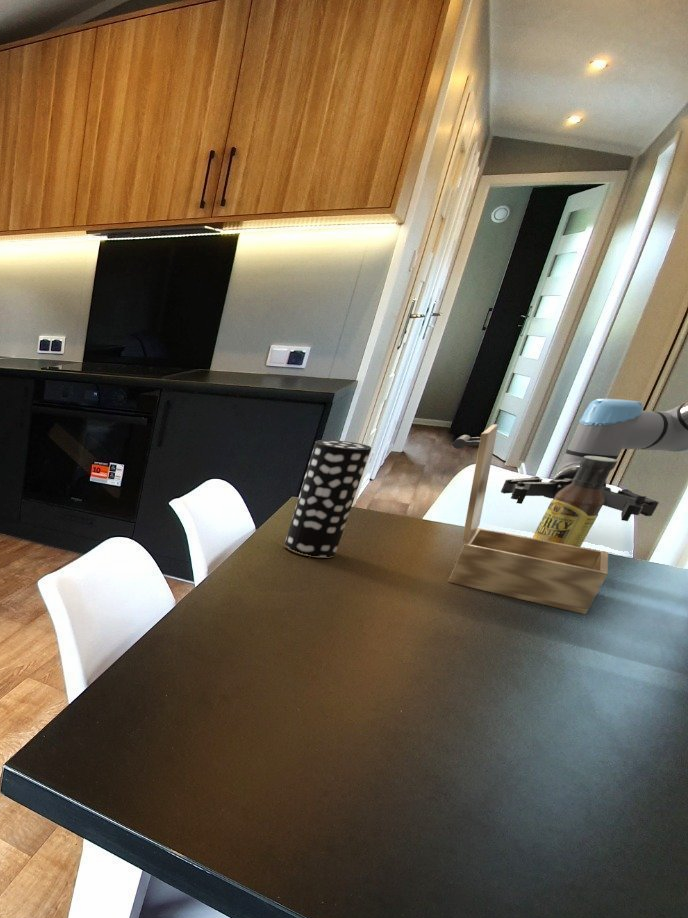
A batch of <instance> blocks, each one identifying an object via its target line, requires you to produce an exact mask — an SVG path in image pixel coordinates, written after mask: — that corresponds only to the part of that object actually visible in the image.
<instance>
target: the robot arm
mask: <svg viewBox="0 0 688 918" xmlns="http://www.w3.org/2000/svg"><path fill="white" fill-rule="evenodd" d="M643 408H644V403H643V402H641V401H638V400H631V399H621V398H620V399H619V398H597V399H594V400H592V401H591V402H590V403H589V404H588V406H587V407H586V409H585V410H584V412H583V414H582V416H581V417H580V418H579V422H578V425H577V427H576V429H575V432H574V434H573V436H572V438H571V440H570V443H569V445H568V448H567V449H566V451H565V452H564V454H563V457H562V458H561V460H560V463H559V465H558V467H557V468H556V470H555V472H554V473H553V477H552V479H551V480H549V481H543V478H541V477H539V476H531V477H525V478H524V477H523V478H513V479H512V478H510V479H509V478H508V479H505V481H504V483H503V485H502V488H501V490H500V493H501V494H511V497H510V499H512V500H516V504H520V505H522V504H523V502H524V500H525V498H526V497H544V498H548V499H551V500H553V499H554V497H555V495H556V494H557V493H558V492H559V491H560V490H561V489H563V488H565V487H566V486H568V485H569V484H571V483H572V480H573V478H574V477H575V475H576V473H577V471H578V469H579V467H580V462H581V461H582V459H583V457H584V456H598V457H606V458H611V459H615V460H617V459H619V458H618V457H620V454H621V452H622V451H623V450H644V451H645V450H646V451H665V452H675V453H676V452H677V453H678V452H684V451H685V452H687V451H688V401H686V402H683V403H682V404H680V405H677V406H676V407H673V408H671V409H669V410H665V411H663V410H662V411H661V410H659V411H657V410H643ZM607 482H608V481H607V479H606V480H605V484H604V485H603V487H602V492H603V493H604V498H605V501H604V504H603V506H605V507H608V508H610V509H614V510H618V511H621V513H620V517H621V519H620V520H621V521H623V522H628V521H630V518H631V516H632V515H633V516H639V515H643V516H645V517H653V515H654V513H655V511H656V509H657V507H658V505H659V504H660V502H659V501H657V500H654V499H651V498H648V497H647V496H646V495H641V494H637V493H634V492H633V491H632V490H630V489H626V488H624V489H618V490H617V492H615V491H612V488H611V487H608V486H607Z"/></svg>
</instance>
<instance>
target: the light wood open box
mask: <svg viewBox="0 0 688 918" xmlns="http://www.w3.org/2000/svg"><path fill="white" fill-rule="evenodd" d="M608 574H609V552H608V551H604V550H598V549H592V548H588V547H583V546H581V547H577V546H572V545H566V544H561V543H556V542H550V541H545V540H540V539H534V538H533V537H529V536H523V535H518V534H512V533H507V532H502V531H496V530H490V529H486V528H482V527H481V528H480V527H478V528H477V529H476V531H475V532H474V534H473V535H472V537H471V538H470V540H469V541H468V542H465V543H463V546H462V548H461V551H460V553H459V555H458V557H457V560H456V562H455V565H454V567H453V569H452V572H451V574H450V576H449V578H448V580H447V582H448V583H451V584H454V585H458V586H462V587H468V588H472V589H476V590H480V591H485V592H487V593H488V592H489V593H492V594H498V595H501V596H506V597H510V598H515V599H519V600H523V601H526V602H531V603H535V604H540V605H544V606H548V607H552V608H557V609H560V610H565V611H570V612H574V613H578V614H582V615H586V614H587V613H588V610H589V609H590V608H591V606H592V604H593V602H594V600H595V598H596V596H597V594H598V593H599V591H600V589H601V587H602V585H603V583H604V581H605V580H606V578H607V576H608Z"/></svg>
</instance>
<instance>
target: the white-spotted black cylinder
mask: <svg viewBox="0 0 688 918" xmlns="http://www.w3.org/2000/svg"><path fill="white" fill-rule="evenodd" d="M371 450H372V447H371V445H368V444H363V443H358V442H353V441H345V440H333V439H332V440H331V439H320V440H316V441H315V442H314V445H313V450H312V452H311V455H310V458H309V462H308V466H307V469H306V472H305V475H304V477H303V482H302V484H301V485H302V486H301V489H300V492H299V494H298V498H297V501H296V505H295V508H294V511H293V514H292V518H291V522H290V525H289V528H288V531H287V535H286V538H285V541H284V544H285V545H286V546H287V547H288V548H290V549H292V550H295V551H297V552H300V553H303V554H308V555H311V556H320V557H330V556H334V555H335V556H336V554H337V550H338V547H339V544H340V541H341V538H342V536H343V532H344V530H345V527H346V524H347V521H348V519H349V515H350V512H351V511H352V510H351V509H352V507H353V504H354V500H355V498H356V494H357V491H358V489H359V487H360V483H361V480H362V477H363V474H364V472H365V469H366V466H367V462H368V460H369V456H370V454H371ZM335 556H334V557H335Z"/></svg>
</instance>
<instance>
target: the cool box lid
mask: <svg viewBox="0 0 688 918" xmlns="http://www.w3.org/2000/svg"><path fill="white" fill-rule="evenodd" d="M498 428H499V424H497V423H496V424H494V423H493V424H491V425H490V426H489V427H487V428H486V429H485V430H484V431H483V432H481V433H480V436H475V437H471V436H470V435H468V434H463V435H460V436H459V437H457V438H456V439H455V440H454V441H453V442H452V447H453V448H454V449H458V450H459V449H463V448H464V447H467V446H468V447H471V446H472V447H475V446H476V447H478V450H477V456H476V460H475V467H474V472H473V478H472V483H471V484H472V485H471V490H470V494H469V500H468V505H467V510H466V517H465V522H464V527H463V528H464V529H463V534H462V538H461V541H462V542H463V543H464V542H468V541H469V540H470V538H471V537H472V535H473V534H474V532H475V531H476V529H477V528H479V526H480V523H481V519H482V513H483V508H484V503H485V498H486V492H487V486H488V481H489V476H490V470H491V464H492V461H493V460H492V459H493V455H494V449H495V442H496V437H497V433H498Z"/></svg>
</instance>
